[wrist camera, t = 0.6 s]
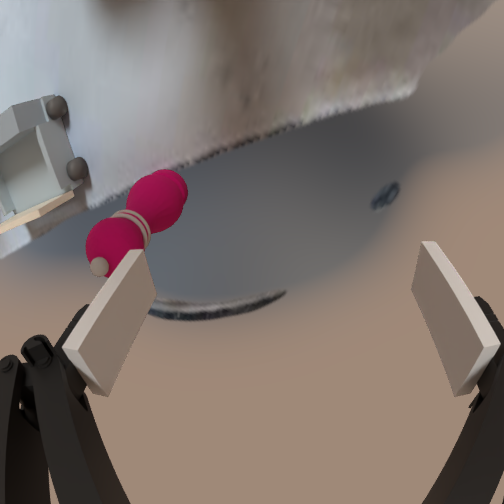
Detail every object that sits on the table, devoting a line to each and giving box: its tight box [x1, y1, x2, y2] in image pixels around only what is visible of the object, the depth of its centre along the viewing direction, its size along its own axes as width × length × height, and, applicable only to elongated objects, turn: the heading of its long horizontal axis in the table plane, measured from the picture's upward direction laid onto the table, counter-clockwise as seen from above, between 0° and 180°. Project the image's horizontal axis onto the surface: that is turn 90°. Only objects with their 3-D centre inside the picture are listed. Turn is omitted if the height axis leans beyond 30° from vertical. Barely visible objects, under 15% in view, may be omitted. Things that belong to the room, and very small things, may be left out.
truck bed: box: [0, 94, 88, 216], centre depth 36 cm, size 15×20×9 cm
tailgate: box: [0, 190, 74, 234], centre depth 38 cm, size 1×16×8 cm, turn 104°
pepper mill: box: [86, 169, 188, 278], centre depth 34 cm, size 7×7×20 cm
